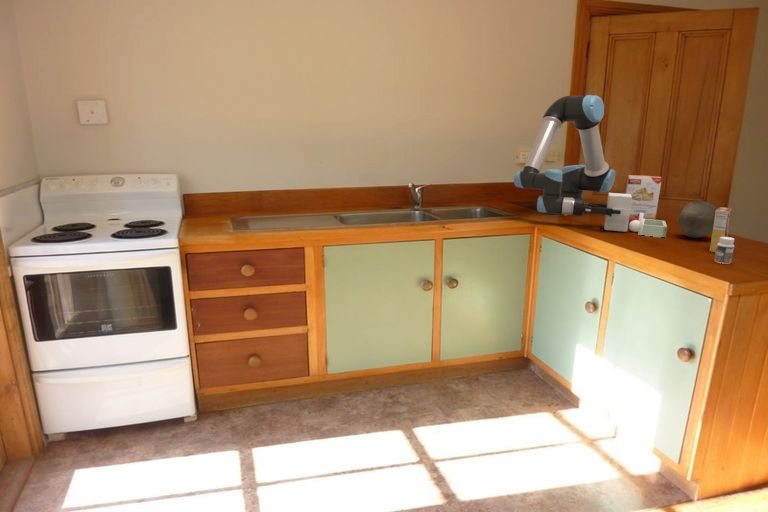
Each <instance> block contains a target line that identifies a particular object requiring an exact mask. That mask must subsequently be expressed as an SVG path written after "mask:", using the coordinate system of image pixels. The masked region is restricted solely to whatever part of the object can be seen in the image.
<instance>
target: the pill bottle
mask: <svg viewBox="0 0 768 512" xmlns="http://www.w3.org/2000/svg"><path fill="white" fill-rule="evenodd" d="M719 241H720V242H719V243H718V244H717V249H716V252H715V254H714V262H715V263H717V264H721V263H722V264H723V265H730V264H731V263H732V259H733V255H734V249H735V245H734V243H735V238H734V237H729V236H727V237H720V240H719ZM722 264H721V265H722Z"/></svg>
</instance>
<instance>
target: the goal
mask: <svg viewBox="0 0 768 512" xmlns="http://www.w3.org/2000/svg"><path fill="white" fill-rule="evenodd" d="M643 216H644V213H640V215H639V221H640V225H639V231H638V232H637V233H638V234H637V236H639V235H645V236H644V237H650V236H653V237H652V238H661V237H665V238H664V239H666V238H667V231H668V225H667V223H666V220H664V219H663V220H662V219H660V220H659V219H655V220H652V219H644V218H643Z"/></svg>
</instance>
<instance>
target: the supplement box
mask: <svg viewBox="0 0 768 512" xmlns="http://www.w3.org/2000/svg"><path fill="white" fill-rule="evenodd" d="M631 201H632V196H631V194H626V193H619V192H617V193H616V192H608V195H607V201H606V204H607V208H612V210H613V208H617V209H630V208H631ZM629 215H630V213H629ZM604 216H605V217H604V223H603V228H604V230H605V231H614V232H625V233H626V232H628V228H629V223H630V222H629V221H630V220H629V216H621V215H612V216H611V217H610V216H609V215H604Z"/></svg>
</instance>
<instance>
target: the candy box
mask: <svg viewBox="0 0 768 512" xmlns="http://www.w3.org/2000/svg"><path fill="white" fill-rule="evenodd" d="M732 211H733V208H732V207H722V206H721V207H718V208H717V210H716V212H715V219H714V225H713V231H712V232H711V240H710V246H709V252H710V251H711V252H710V253H716V249H717V244H718V243H719V242H720V241H719V240H720V237H729V236H728V235H729V229H730V224H731V217H732Z"/></svg>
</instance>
